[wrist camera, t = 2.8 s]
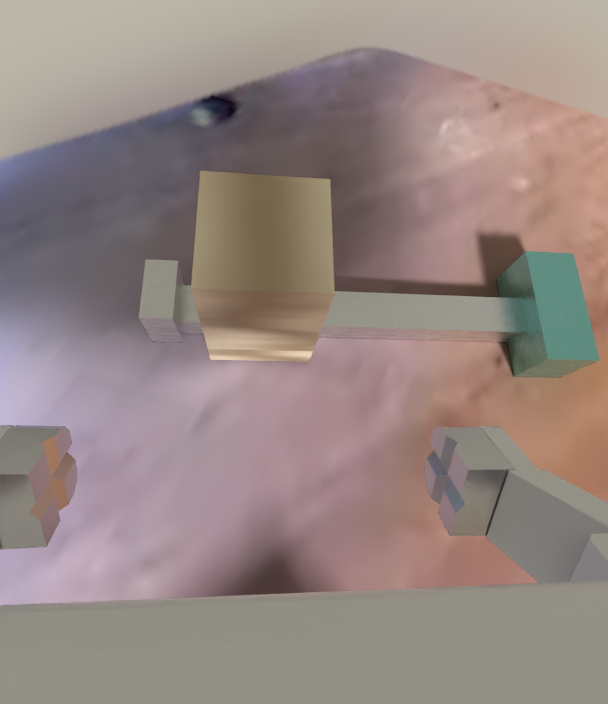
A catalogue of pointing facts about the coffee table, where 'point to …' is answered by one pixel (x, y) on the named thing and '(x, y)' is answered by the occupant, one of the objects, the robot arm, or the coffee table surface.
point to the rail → (429, 314)
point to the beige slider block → (262, 265)
